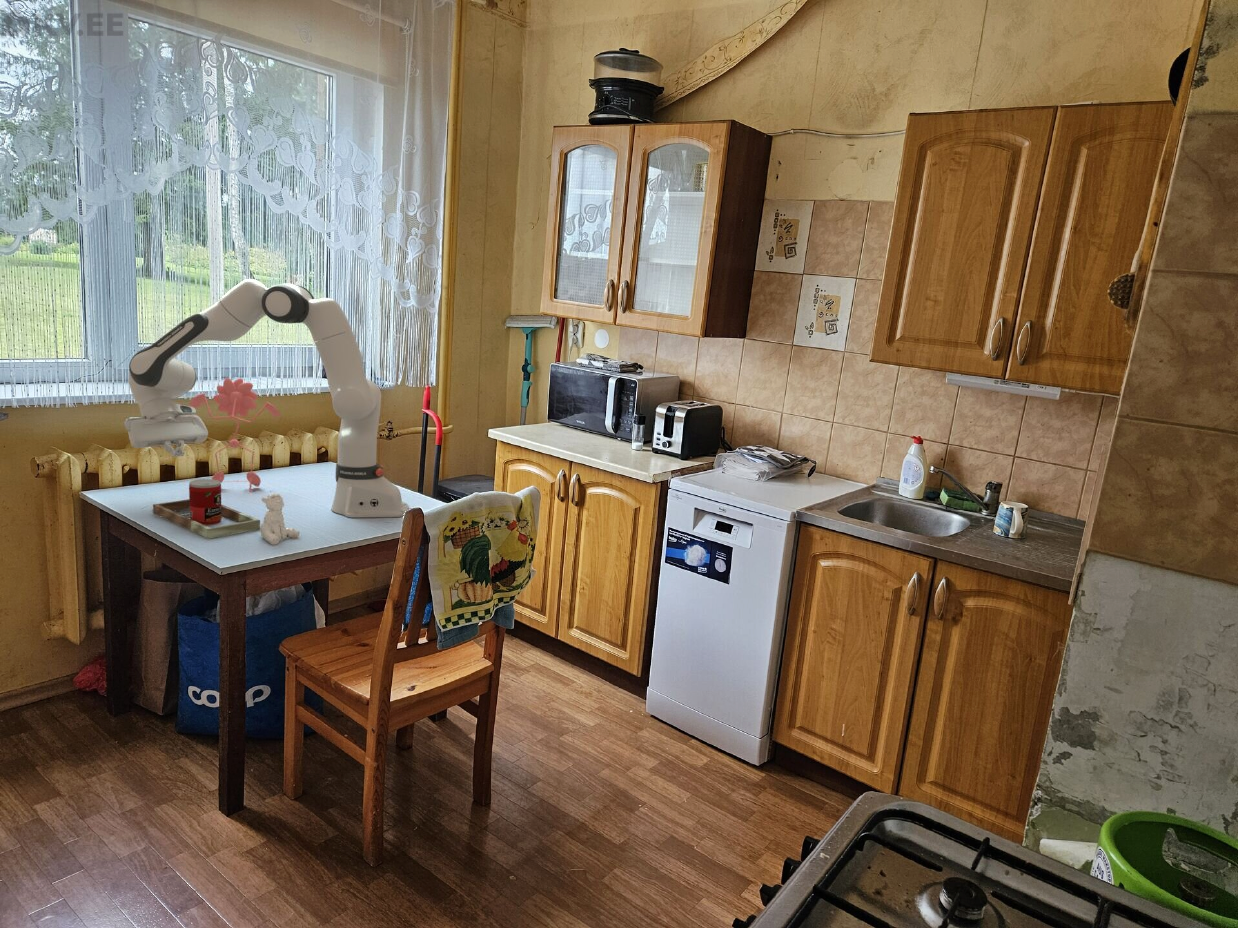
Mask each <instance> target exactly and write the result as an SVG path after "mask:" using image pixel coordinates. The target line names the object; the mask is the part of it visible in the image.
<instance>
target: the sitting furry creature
mask: <svg viewBox="0 0 1238 928" xmlns="http://www.w3.org/2000/svg"><path fill="white" fill-rule="evenodd" d="M261 501H262V503H264V504H265V507H266V509H267V511H266V512H265V514H264V517H263V519H264V520H263V521H262V523H260V529H259V531H260V532H259V533H260V535H261V537H262V538H263V539H264V540H265V541H267V542H268V543H269V544H270V545H273V546H276V545H278V544H279V542H281V541H283V540H284V541H285V540H287V539H299V537H300V530H297V529H296V528H294V527H285V526H286V524H285V522H284V520H285V518H284V514H283V508H284V506H285V503H284V500H283V497H282V496H281V495H280V494H278V493H272V494H270V495H268V496H267V497H262V498H261Z"/></svg>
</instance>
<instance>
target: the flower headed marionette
mask: <svg viewBox="0 0 1238 928" xmlns="http://www.w3.org/2000/svg"><path fill="white" fill-rule="evenodd" d="M253 387H254V385H253V383H252V382H244V380H243V378H237V379H235V380H234V381H233V380H232V379H230V378H229V377H225V379H224V380H223V384H222V385H221V384H219V385H217V386H216V390H217V391H216V392H217V394H214V395H213V397H212V400H213V401H214V402H215V403H217V404H219V405H218V406H217V409H218V410H217V411H219V412H225V413H226V412H227V415H225V416H224V415H223V416H213V414H212V411H211V408H210V406H209V403H208V400H207V396H206V393H204V392H202V393H200V394H197V395H195V396H193V398H192V399H191V400H190V402H189V406H190V407H194V408H195V409H196V408H198V407H200V406H202V405H203V404H204V403H205V405H206V408H207V410H208V413H209V416H210V418H211V420H215V419H226V418H227V419H228V418H230V419H232V420H233V421H234V422H235V423H237V425H236V428H235V432H234V437H233V439H231V440H230V441H229V444H227V445H226V446H224V447H222V448H221V449H219V450H217V451H216V452H215V456H214V457H215V462H216V469H217V472H215V473H214V474H213V476H212V477H211V479H213V480H218V481H220V482H221V484H222V483H223V482H224V480H225V473H224V472H223V471H220V469H219V463H218V453H220V452H221V451H223V450H224V449H226V448H228V447H231V448H238V447H241V448H242V449H245V450H247V451H248V452H250V453H252V454H251V466H250V471H248V472H246V480H244V481H243V480H233V481H230V480H229V481H227V483H234V482H236V483H237V482H239V483H249V489H248V490H249V491H248V492H249V493H252V485H253V486H255V487H257V488H259V487H260V484H261V482H262V481H261V478H260V476H259V475H258V474H257V473H256V472H254V471H253V467H254V466H253V465H254V455H255V453H254V451H252V450H250V449H249V448H247V447H245V446H243V445H242V444H240V441H239V440H237V439H236V437H237V435H238V431H239V429H240V428H239V427H240V425H241V424H240V422H239V421H238V420H240V421H242V422H245V423H249V424H252V423H254V421H255V420H256V419H257V417H259V415H261V413H262V412H263V411H264V409H266V410H267V411H268V412H269V413H270V414H271V415H272V416H274V417H275V418H278V419H279V418H280V416H281V413H280V411H279V409H278V408H277V407H276V406H275V405H273V404H272V403H270V402H268V401H267V402H265V404H264V406H263V407H262V408H261V409H260V410H259V411H258V412H257V413H256V415H254V417H253V418H252V420H247V419H245V418H246V417H248V414H249V410H252V411H253V410H255V409H256V408H257V404H256V402H255V400H257V399H258V397H259V396H258V394H257V393H256V392H254V391H252V389H253ZM238 415H239V416H241V417H242V418H241V417H238ZM243 417H244V418H243ZM269 492H270V493H271V492H272V490H270V491H269Z"/></svg>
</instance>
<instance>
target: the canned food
mask: <svg viewBox="0 0 1238 928" xmlns="http://www.w3.org/2000/svg"><path fill="white" fill-rule="evenodd" d="M188 483H189V484H188V494H189V498H188V499H189V500H190V518H189V519H192V520H194V521H196V522H198V523H201V524H203V525H205V526H207V525H215V524H219V523H220V522H221V521H222V516H223V515H222V514H221V504H222V483H221V482H220V481H218V480H213V479H212V478H203V479H202V478H199V479H194V480H191V481H190V482H188Z"/></svg>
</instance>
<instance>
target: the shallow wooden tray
mask: <svg viewBox="0 0 1238 928" xmlns="http://www.w3.org/2000/svg"><path fill="white" fill-rule="evenodd" d="M152 511H153V512H152V513H153V514H154V515H156V514H157V515H156V516H158V517H160V516H161V517H160V518H163V519H165V520H167V521H169V522H172V523H174V524H176V525H178V526H180V527H183V528H185V529H187V530H188V531H191V532H193V533H195V534H196V535H197V534H198V535H200V536H202V537H204V538H206V539H207V540H209V539H214V538H220V537H226V536H230V535H236V534H240V533H247V532H251V531H256V530H260V527H261V520H260V519H258V518H256V517H253V516H251V515H249V514H246V513H243V512H241V511H239V510H236V509H234V508H231V507H229V506H226V505H224V504H222V503H221V514H222V516H223V517H226V518H229V519H231V520H233V521H235V522H236V523H235V522H234V523H231V524H230V523H229V524H224V525H218V526H213V527H210V526H207V525H203V524H201V523H198V522H196V521H194V520H192V519H190V500H189V498H187V499H183V500H182V499H181V500H174V501H169V502H161V503H155V504H152Z"/></svg>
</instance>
